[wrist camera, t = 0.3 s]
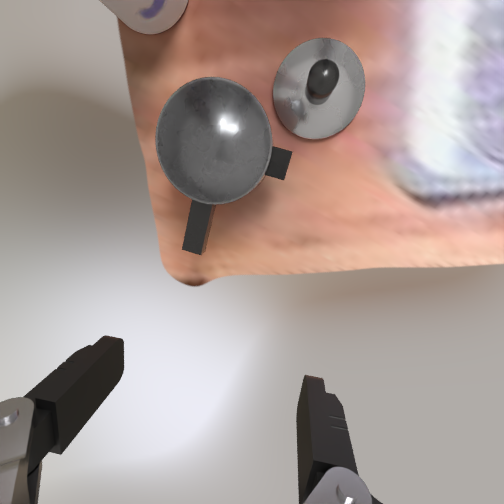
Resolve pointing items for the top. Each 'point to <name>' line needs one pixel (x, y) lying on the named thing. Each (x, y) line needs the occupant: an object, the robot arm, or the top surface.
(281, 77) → the lid
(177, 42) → the top surface
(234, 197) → the pot
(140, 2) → the container
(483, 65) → the top surface
